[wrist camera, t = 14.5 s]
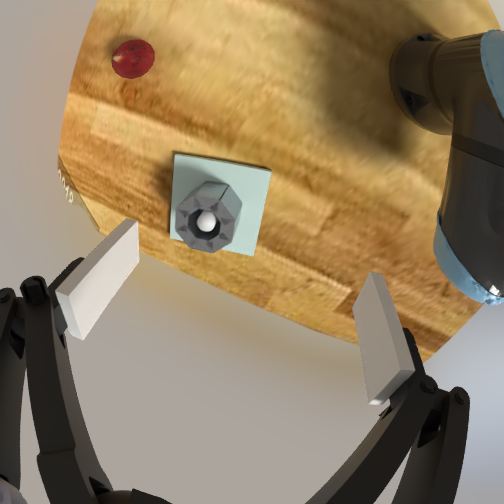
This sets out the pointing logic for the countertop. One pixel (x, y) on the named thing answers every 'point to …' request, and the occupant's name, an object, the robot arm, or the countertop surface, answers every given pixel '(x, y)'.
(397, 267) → the countertop surface
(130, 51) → the onion
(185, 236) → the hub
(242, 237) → the post block
